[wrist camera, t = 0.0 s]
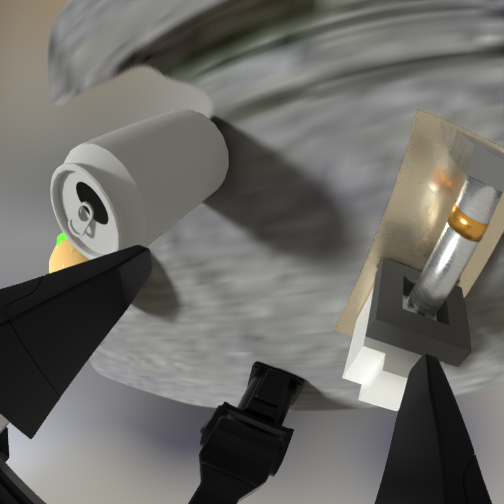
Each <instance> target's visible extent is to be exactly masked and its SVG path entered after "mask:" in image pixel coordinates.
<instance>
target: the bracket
mask: <svg viewBox="0 0 504 504" xmlns="http://www.w3.org/2000/svg"><path fill="white" fill-rule="evenodd" d="M373 288H374V287H373ZM372 295H373V289H372V291H371V293H370V295H369V297H368V299H367V301H366V303H365V305H364V307H363V309H362V311H361V313H360V315H359V316H358V318H357V320H356V325H355V329H354V333H353V338H352V342H351V346H350V350H349V354H348V358H347V362H346V366H345V370H344V373H343V377H342V378H344V379H347V380H350V381H353V382H356V383H359V384H362V386H361V390H360V395H359V399H358V400H360V401H364V402H367V403H370V404H373V405H377V406H380V407H384V408H387V409H391V410H394V411H398V410H399V408H400V404H401V401H402V397H403V394H404V390H405V386H406V383H407V379H408V375H409V372H410V370H411V368H412V367H413V366H414V365H415V363H416V362H417V361H418V360H419V359H420V357H421V356H422V355H419V354H416V353H413V352H410V351H407V350H404V349H401V348H398V347H395V346H392V345H389V344H386V343H383V342H380V341H377V340H374V339H371V338H368V337H366V336H365V335H366V330H367V325H368V319H369V313H370V307H371V301H372ZM405 301H406V298H403V304H404V303H405ZM433 320H436V321H437V317H436V315H435V317H434V318H433ZM439 362H440V364H441V366H442V369H443V371H444V373H445V363H444V362H441V361H439Z"/></svg>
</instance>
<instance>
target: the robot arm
mask: <svg viewBox="0 0 504 504" xmlns="http://www.w3.org/2000/svg"><path fill="white" fill-rule="evenodd" d="M151 269H152V266H151V256H150V250H149V249H148V248H146V247H144V246H142V245H135V246H131V247H128V248H125V249H122V250H119V251H116V252H113V253H109V254H106V255H103V256H100V257H97V258H94V259H91V260H88V261H85V262H82V263H79V264H76V265H73V266H70V267H67V268H64V269H61V270H58V271H55V272H52V273H49V274H46V275H45V276H41V277H38V278H35V279H32V280H29V281H26V282H23V283H20V284H16V285H13V286H9V287H6V288H2V289H0V504H46V503H45V502H44V501H43V500H42V499H41V498H39V497H38V496H37V495H36V494H35V493H34V492H33V491H32V490H31V489H30V488H29V487H28V486H27V485H26V484H25V483H24V482H23V481H22V480H21V479H20V478H19V477H18V476H17V475H16V474H15V473H14V472H13V471H12V469H11V468H10V467H9V466H8V465H7V464H6V463H5V462H6V461H7V460H8V458H9V445H8V428H7V427H6V426H7V425H8V424H9V423H11V424H13V425H14V426H15V427H16V428H17V429H19V430H20V431H21V432H22V433H24V434H25V435H26V436H27V437H28V438H30V439H32V438H33V436H34V435H35V434H36V432H37V431H38V429H39V428H40V426H41V425H42V423H43V422H44V420H45V419H46V417H47V416H48V415H49V413H50V411H51V410H52V409H53V407H54V406H55V405H56V403H57V402H58V400H59V399H60V397H61V396H62V394H63V393H64V391H65V390H66V389H67V388H68V386H69V384H70V383H71V382H72V381H73V379H74V378H75V376H76V375H77V374H78V372H79V371H80V370H81V368H82V367H83V366H84V364H85V363H86V361H87V360H88V359H89V358H90V356H91V355H92V354H93V352H94V351H95V350H96V348H97V347H98V346H99V344H100V343H101V342H102V341H103V339H104V338H105V337H106V335H107V334H108V333H109V331H110V330H111V329H112V328H113V326H114V325H115V324H116V323H117V321H118V320H119V319H120V318H121V316H122V315H123V314H124V312H125V311H126V310H127V308H128V307H129V305H130V304H131V303H132V301H133V299H134V298H135V296H136V295H137V293H138V292H139V290H140V289H141V287H142V285H143V284H144V282H145V281H146V279H147V278H148V276H149V275H150V273H151ZM304 383H305V381H304V380H302V379H300V378H297V377H294V376H292V375H289V374H286V373H284V372H281V371H279V370H276V369H274V368H271V367H269V366H266V365H264V364H261V363H259V362H254V364H253V366H252V370H251V374H250V378H249V382H248V386H247V387H248V388H247V390H246V392H245V394H244V395H243V397H242V399H241V401H240V403H239V405H238V407H234V406H232V405H230V404H229V403H227V402H224V403H223V405H219V406H218V407H217V409H216V411H215V413H214V414H213V416H212V417H211V418H210V419H209V421H208V422H207V423H206V424H205V425H204V426H203V427H202V429H201V430H200V433H201V435H202V437H201V442H200V446H201V447H202V449H201V451H200V453H199V472H200V485H199V487H198V488H197V490H196V492H195V493H194V495H193V497H192V498H191V500H190V502H189V503H188V504H237V502H239V501H241V500H242V499H244V498H246V497H247V496H249V495H251V494H252V493H254V492H256V491H257V490H258V489H259V488H260V487H261V486H262V485H263V484H264V483H265V482H266V480H267V478H268V476H269V475H270V476H275V474H276V473H277V471H278V469H279V467H280V465H281V463H282V461H283V459H284V456H285V453H286V451H287V448H288V445H289V443H290V440H291V437H292V434H293V431H294V429H291V428H286V427H284V426H282V424H283V422H284V420H285V417H286V415H287V413H288V410H289V408H290V405H293V403H294V402H295V400H296V398H297V396H298V394H299V393H300V391H301V389H302V387H303V385H304ZM375 504H492V502H491V500H490V496H489V494H488V491H487V489H486V485H485V483H484V480H483V477H482V474H481V471H480V468H479V465H478V461H477V458H476V455H474V449H473V446H472V443H471V440H470V437H469V434H468V431H467V429H466V426H465V423H464V421H463V418H462V415H461V412H460V410H459V407H458V405H457V402H456V400H455V397H454V395H453V392H452V390H451V387H450V385H449V382H448V380H447V378H446V375H445V373H444V371H443V369H442V366H441V364H440V362H439V360H438V358H437V357H436V356H434V355H431V354H428V353H425V354H423V355H422V356H421V357H420V359H419V360H418V361H417V362H416V363H415V365H414V366H413V367H412V368H411V370H410V372H409V375H408V379H407V383H406V386H405V390H404V394H403V397H402V401H401V404H400V408H399V411H398V415H397V419H396V423H395V428H394V432H393V437H392V441H391V446H390V450H389V454H388V458H387V462H386V466H385V470H384V474H383V477H382V481H381V484H380V488H379V491H378V494H377V498H376V501H375Z"/></svg>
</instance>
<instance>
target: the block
mask: <svg viewBox="0 0 504 504" xmlns="http://www.w3.org/2000/svg"><path fill="white" fill-rule="evenodd" d="M421 273H422V272H421V271H418V270H416V269H413V268H410V267H408V266H405V265H402V264H400V263H397V262H394V261H392V260H389V259H386V258H383V259H382V261H381V263H380V265H379V267H378V270H377V272H376V274H375V281H374V288H373V295H372V301H371V307H370V313H369V319H368V325H367V330H366V335H365V336H366V337H368V338H371V339H374V340H377V341H380V342H383V343H386V344H389V345H392V346H395V347H398V348H401V349H404V350H407V351H410V352H413V353H416V354H419V355H423V354H425V353H428V354H431V355H434V356H436V357H437V358H438V360H439V361H441V362H444V363H447V364H450V365H454V366H457V367H458V366H459V365H460V364H461V363H462V362H463V361H464V360H465V359H466V358H467V356H468V355H469V354H470V353H471V343H470V335H469V327H468V320H467V314H466V308H465V302H464V297H463V291H462V287H459V286H457V285H455V286H454V287H453V289H452V291H451V292H450V294H449V295H448V297H447V298H446V300H445V302H444V303H443V305H442V306H441V308H440V309H439V311H438V312H437V314H436V317H437V321H436V320H433V319H430V318H427V317H425V316H422V315H419V314H416V313H413V312H411V311H408V310H405V309H403V295H405V296H409V294H410V292H411V291H412V289H413V287H414V285H415V284H416V282H417V280H418V278H419V276H420V274H421Z"/></svg>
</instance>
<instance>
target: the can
mask: <svg viewBox="0 0 504 504" xmlns="http://www.w3.org/2000/svg"><path fill="white" fill-rule="evenodd" d="M228 167H229V162H228V149H227V146H226V143H225V140H224V137H223V135H222V134H221V132H220V131H219V129H218V128H217V127H216V125H215V124H214V123H213V122H212V121H211V120H209V119H208V118H207V117H206V116H204V115H203V114H201V113H198V112H195V111H193V110H175V111H171V112H168V113H165V114H161V115H158V116H155V117H152V118H149V119H146V120H143V121H140V122H137V123H134V124H131V125H129V126H126V127H123V128H120V129H117V130H115V131H112V132H110V133H107V134H104V135H102V136H99V137H97V138H94V139H92V140H90V141H87V142H85V143H83V144H80V145H79V146H77V147H75V148H74V149H72V150H71V152H70V153H69V155H68V157H67V158H66V160H65V162H64V164H63V165H61V166H60V167H58V168H57V169H56V171H55V173H54V175H53V176H52V182H51V188H50V191H51V202H52V206H53V210H54V213H55V216H56V219H57V221H58V223H59V225H60V227H61V229H62V231H63V232H64V234H65V235H66V237H67V238H68V240H69V241H70V243H71V244H72V245H73V246H74V247H75V248H76V249H77V250H78V251H79V252H80V253H81V254H83V255H84V256H85V257H87V258H88V259H90V260H91V259H94V258H97V257H100V256H103V255H106V254H109V253H113V252H116V251H119V250H122V249H125V248H128V247H131V246H135V245H142V246H144V247H147V246H149V245H150V244H151V243H152V242H153V241H155V240H156V239H157V238H158V237H159V236H160V235H162V234H163V233H164V232H165V231H166V230H168V229H169V228H170V227H171V226H173V225H174V224H175V223H176V222H177V221H179V220H180V219H181V218H182V217H184V216H185V215H186V214H187V213H189V212H190V211H191V210H192V209H193V208H195V207H196V206H197V205H199V204H200V203H201V202H202V201H204V200H205V199H206V198H207V197H209V196H210V195H211V194H212V193H214V192H215V191H216V190H218V188H219V187H220V185H221V184H222V183H223V181H224V180H225V177H226V174H227V170H228Z"/></svg>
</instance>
